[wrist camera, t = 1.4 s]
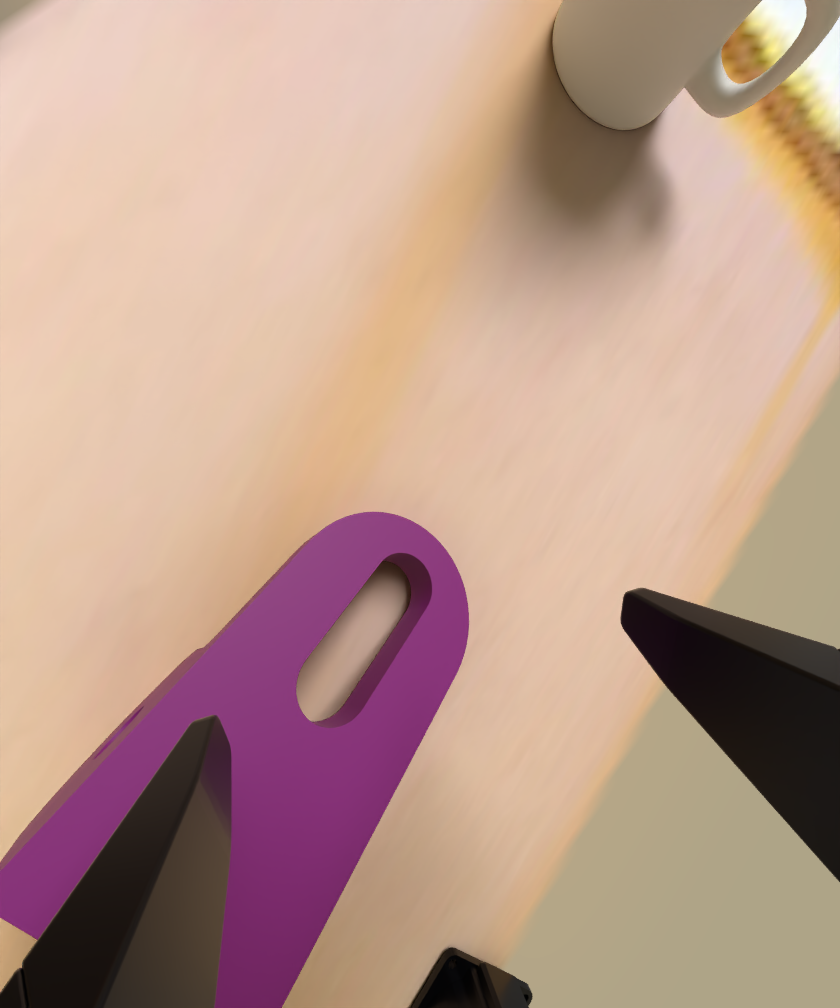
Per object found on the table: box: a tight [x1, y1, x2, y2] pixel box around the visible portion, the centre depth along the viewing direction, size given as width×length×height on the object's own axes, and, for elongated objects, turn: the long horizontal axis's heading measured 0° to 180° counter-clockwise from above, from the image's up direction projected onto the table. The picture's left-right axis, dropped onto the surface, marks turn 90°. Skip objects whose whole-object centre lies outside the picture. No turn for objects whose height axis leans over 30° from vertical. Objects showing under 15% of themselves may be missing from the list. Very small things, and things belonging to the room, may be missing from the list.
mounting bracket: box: [0, 512, 469, 1008], centre depth 20 cm, size 9×8×18 cm
